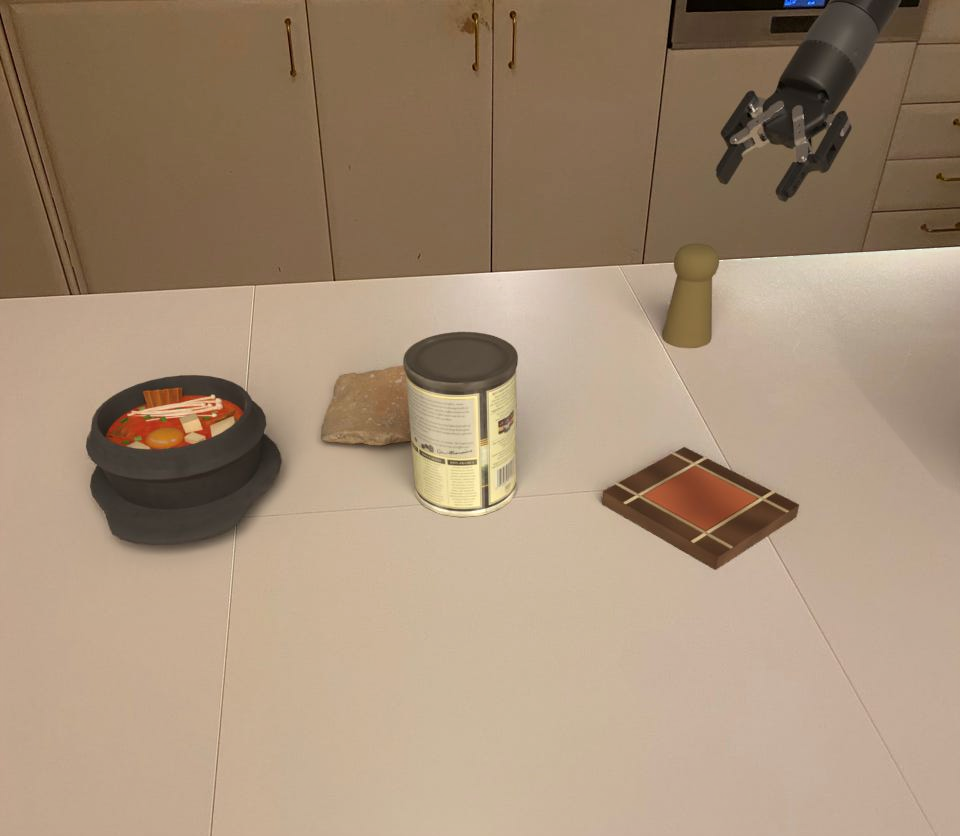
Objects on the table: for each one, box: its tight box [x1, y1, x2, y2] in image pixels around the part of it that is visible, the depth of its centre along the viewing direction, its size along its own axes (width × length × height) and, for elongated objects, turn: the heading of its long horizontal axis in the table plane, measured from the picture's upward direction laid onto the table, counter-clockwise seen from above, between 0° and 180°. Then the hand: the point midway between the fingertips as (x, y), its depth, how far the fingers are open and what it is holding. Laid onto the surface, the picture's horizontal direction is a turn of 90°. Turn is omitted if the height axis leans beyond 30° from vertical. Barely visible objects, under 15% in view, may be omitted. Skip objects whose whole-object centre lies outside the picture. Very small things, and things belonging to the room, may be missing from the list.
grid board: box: [601, 446, 800, 571], centre depth 94 cm, size 12×14×2 cm
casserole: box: [85, 374, 283, 546], centre depth 96 cm, size 25×19×8 cm
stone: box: [320, 364, 411, 446], centre depth 107 cm, size 11×16×3 cm
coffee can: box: [402, 331, 519, 518], centre depth 93 cm, size 10×10×14 cm
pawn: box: [661, 243, 720, 349], centre depth 118 cm, size 6×6×11 cm
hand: (749, 188), depth 115 cm, fingers open, 8 cm apart
